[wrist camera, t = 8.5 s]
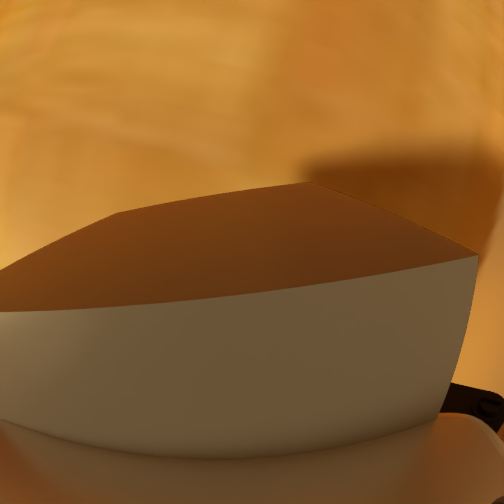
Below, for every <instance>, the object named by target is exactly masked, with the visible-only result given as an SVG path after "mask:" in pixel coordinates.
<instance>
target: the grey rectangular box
mask: <svg viewBox="0 0 504 504" xmlns="http://www.w3.org/2000/svg"><path fill="white" fill-rule="evenodd" d="M478 260H479V255H478V254H476V253H474V252H472V251H470V250H469V249H467V248H465V247H463V246H461V245H459V244H457V243H455V242H453V241H451V240H449V239H447V238H445V237H443V236H440V235H438V234H436V233H434V232H432V231H430V230H428V229H426V228H424V227H421V226H419V225H417V224H415V223H413V222H410V221H408V220H406V219H404V218H401V217H399V216H397V215H394V214H392V213H390V212H387V211H385V210H383V209H380V208H378V207H375V206H373V205H370V204H368V203H366V202H363V201H360V200H358V199H355V198H353V197H350V196H348V195H345V194H342V193H340V192H337V191H334V190H332V189H329V188H326V187H324V186H321V185H318V184H315V183H312V182H305V183H297V184H288V185H280V186H272V187H264V188H257V189H249V190H242V191H235V192H229V193H222V194H216V195H210V196H203V197H197V198H192V199H186V200H180V201H175V202H169V203H164V204H159V205H153V206H148V207H143V208H138V209H133V210H129V211H124V212H119V213H116V214H113V215H111V216H109V217H106V218H104V219H102V220H100V221H97V222H95V223H93V224H91V225H88V226H86V227H84V228H82V229H80V230H78V231H75V232H73V233H71V234H69V235H67V236H65V237H63V238H61V239H59V240H57V241H55V242H53V243H51V244H49V245H47V246H45V247H43V248H41V249H39V250H37V251H35V252H33V253H31V254H29V255H27V256H25V257H24V258H22V259H20V260H18V261H16V262H14V263H13V264H11V265H9V266H7V267H5V268H4V269H2V270H0V419H3V420H5V421H8V422H10V423H13V424H16V425H18V426H21V427H24V428H27V429H30V430H33V431H36V432H39V433H42V434H45V435H49V436H52V437H55V438H59V439H63V440H66V441H70V442H74V443H78V444H82V445H87V446H91V447H96V448H101V449H106V450H112V451H118V452H124V453H131V454H138V455H146V456H155V457H166V458H180V459H205V460H228V459H253V458H267V457H278V456H287V455H295V454H303V453H310V452H317V451H323V450H329V449H334V448H339V447H344V446H348V445H353V444H357V443H361V442H366V441H369V440H373V439H377V438H381V437H385V436H388V435H392V434H395V433H398V432H401V431H405V430H408V429H411V428H414V427H417V426H420V425H423V424H426V423H428V422H431V421H434V420H436V419H437V417H438V414H439V412H440V409H441V407H442V404H443V402H444V399H445V397H446V394H447V391H448V389H449V386H450V383H451V380H452V377H453V374H454V371H455V368H456V365H457V362H458V358H459V355H460V351H461V348H462V344H463V340H464V336H465V333H466V328H467V324H468V320H469V315H470V311H471V306H472V300H473V295H474V289H475V283H476V276H477V269H478Z"/></svg>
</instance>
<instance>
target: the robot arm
mask: <svg viewBox="0 0 504 504" xmlns="http://www.w3.org/2000/svg"><path fill="white" fill-rule="evenodd" d="M0 504H504V398H502V396H500V395H499V394H496V393H494V392H491V391H485V390H481V389H477V388H472V387H468V386H464V385H459V384H455V383H450V386H449V389H448V391H447V394H446V397H445V399H444V402H443V404H442V407H441V409H440V412H439V414H438V417H437V419H436V420H434V421H431V422H428V423H426V424H423V425H420V426H417V427H414V428H411V429H408V430H405V431H401V432H398V433H395V434H392V435H388V436H385V437H381V438H377V439H373V440H369V441H366V442H361V443H357V444H353V445H348V446H344V447H339V448H334V449H329V450H323V451H317V452H310V453H303V454H295V455H287V456H278V457H267V458H253V459H228V460H205V459H180V458H166V457H155V456H146V455H138V454H131V453H124V452H118V451H112V450H106V449H101V448H96V447H91V446H87V445H82V444H78V443H74V442H70V441H66V440H63V439H59V438H55V437H52V436H49V435H45V434H42V433H39V432H36V431H33V430H30V429H27V428H24V427H21V426H18V425H16V424H13V423H10V422H8V421H5V420H3V419H0Z"/></svg>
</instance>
